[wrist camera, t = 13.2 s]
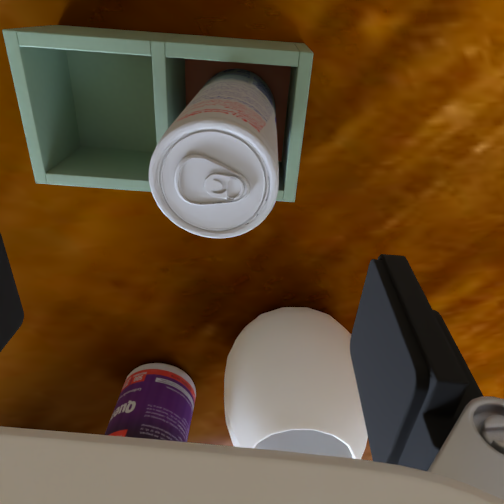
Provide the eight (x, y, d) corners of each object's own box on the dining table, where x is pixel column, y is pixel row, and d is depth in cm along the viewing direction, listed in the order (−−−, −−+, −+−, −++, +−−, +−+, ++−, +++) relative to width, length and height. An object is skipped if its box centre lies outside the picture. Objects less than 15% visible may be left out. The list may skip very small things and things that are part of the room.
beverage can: (185, 89, 30) (119, 152, 17) (255, 52, 28) (243, 91, 15) (220, 158, 32) (188, 259, 19) (287, 128, 31) (299, 215, 18)
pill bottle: (142, 347, 44) (92, 480, 32) (209, 375, 46) (186, 510, 34) (117, 391, 48) (63, 525, 36) (180, 415, 50) (150, 550, 37)
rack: (76, 152, 33) (35, 183, 28) (56, 24, 29) (1, 29, 23) (290, 168, 33) (294, 202, 28) (305, 43, 29) (313, 52, 23)
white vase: (337, 392, 46) (359, 519, 35) (221, 374, 46) (205, 498, 34) (374, 300, 40) (417, 420, 28) (240, 278, 39) (227, 392, 28)
